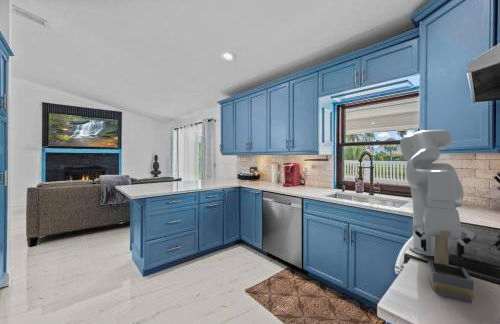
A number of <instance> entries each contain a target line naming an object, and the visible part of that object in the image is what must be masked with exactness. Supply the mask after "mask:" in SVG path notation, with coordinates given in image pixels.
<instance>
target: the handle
mask: <svg viewBox="0 0 500 324" xmlns="http://www.w3.org/2000/svg"><path fill="white" fill-rule="evenodd" d="M440 235H451V233H450V232H449V231H440ZM433 258H434V259H433V260H434V262H435V263H441V264H446V265H449V259H450V258H449V244H448V238H442V237H435V248H434V257H433Z"/></svg>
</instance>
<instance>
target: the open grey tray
mask: <svg viewBox="0 0 500 324" xmlns="http://www.w3.org/2000/svg"><path fill="white" fill-rule="evenodd" d="M427 266H428V267H427V277H428V279H429V282H430V285H431V288H432V290H433V291H436V292H437V294H438V296H439V297H442V298H443V297H444V298H447V299H450V300H451V299H452V300H456V301H460V302H464V303H468V304H473V300H474V299H475V298H474V296H475V295H474V294H475V293H474V292H475V291H474V289H475V288H474V287H475V285H474V284H475V283H474V279H472V277H471V275H469V273H468V271H467V270H466V268H465V267H462V266H458V265H457V266H455V265H451V264H448V265H446V264H441V263H435V261H429V260H428V261H427Z"/></svg>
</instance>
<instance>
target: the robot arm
mask: <svg viewBox="0 0 500 324" xmlns="http://www.w3.org/2000/svg"><path fill="white" fill-rule="evenodd" d="M452 142H453V137H452V134H451V132H450V131H448V130H447V129H428V130H427V129H425V130H424V129H423V130H418V131H415V133H413V134H407V135H405V136H403V137H402V138H401V139H400V141H399V143H400V151H401V154H402V155H403V157H404V159H405V160H406V167H405V172H406V177H407V182H408V184H409V186H410V194H411V200H412V224H413V225H411V229H412V243H411V244H409V245H408V249H409V250H410V251H412V252H413V251H414V252H413V253H417V254H419V255H422V254H423V255H422V256H427V257H433V256H434V248H435V237H442V238H447V239H449V240H450V239H452V240H456V241H457V243H456V255H457V256H458V257H459V258H463V255H464V254H465V246H466V245H467V244H469V243H470V242H472V240H473V239H474V237H475V236H476V234H475V233H474V232H473V231H470V230H468V229H466V228H465V227H463V226H461V219H460V214H459V211H458V209H457V208H458V207H459V208H461V207H462V204H461V202H462V200H463V199H464V189H463V186H462V183H461V180H460V178H459V176H458V173H457V171H456V169H455V168H454V166H453V165H451V164H449V163H445V162H439V163H438V162H436V161H437V160H438V159H439V158H440V157H441V156H440V155H441V152H440V151H442V150H446V149H448V148H450V147H451V145H452V144H453V143H452ZM440 231H449V232H450V233H451V235H440ZM462 233H464V234H466V236H465V237H464V238H461V237H462Z"/></svg>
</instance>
